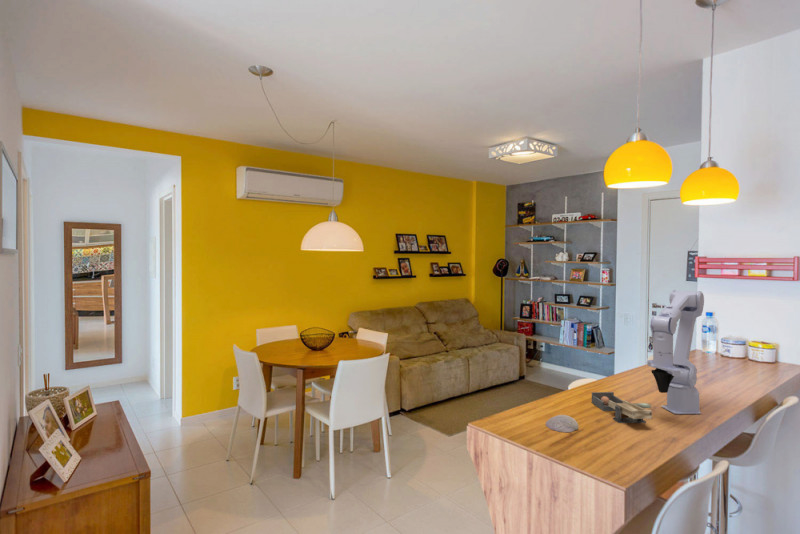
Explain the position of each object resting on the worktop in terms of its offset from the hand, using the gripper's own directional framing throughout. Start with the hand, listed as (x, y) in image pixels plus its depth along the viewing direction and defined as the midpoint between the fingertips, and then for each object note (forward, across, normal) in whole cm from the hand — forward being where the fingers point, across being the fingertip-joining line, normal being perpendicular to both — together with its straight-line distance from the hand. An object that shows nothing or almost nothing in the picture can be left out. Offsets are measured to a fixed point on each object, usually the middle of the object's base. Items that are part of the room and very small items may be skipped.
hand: (663, 392), depth 145 cm
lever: (+7, -1, -7) cm, 10 cm away
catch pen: (+10, -15, -11) cm, 21 cm away
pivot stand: (+10, -1, -11) cm, 15 cm away
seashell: (+10, +3, -35) cm, 37 cm away
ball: (+8, -18, -11) cm, 22 cm away
